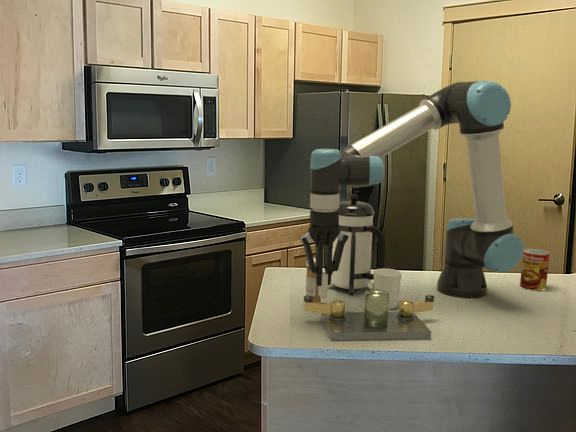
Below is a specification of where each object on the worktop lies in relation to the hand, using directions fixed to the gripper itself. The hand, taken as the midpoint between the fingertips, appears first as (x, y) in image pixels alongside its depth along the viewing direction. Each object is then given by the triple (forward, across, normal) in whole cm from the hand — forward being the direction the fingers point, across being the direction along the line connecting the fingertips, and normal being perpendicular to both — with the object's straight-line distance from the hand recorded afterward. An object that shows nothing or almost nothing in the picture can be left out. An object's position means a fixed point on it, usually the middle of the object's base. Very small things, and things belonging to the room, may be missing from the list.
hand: (323, 297), depth 168 cm
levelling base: (+7, -11, +10) cm, 16 cm away
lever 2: (+4, -24, +7) cm, 25 cm away
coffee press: (+7, -19, -25) cm, 32 cm away
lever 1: (+4, +1, +3) cm, 5 cm away
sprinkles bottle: (+7, -1, -12) cm, 14 cm away
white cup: (+7, -22, -8) cm, 24 cm away
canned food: (+8, -77, -15) cm, 79 cm away
